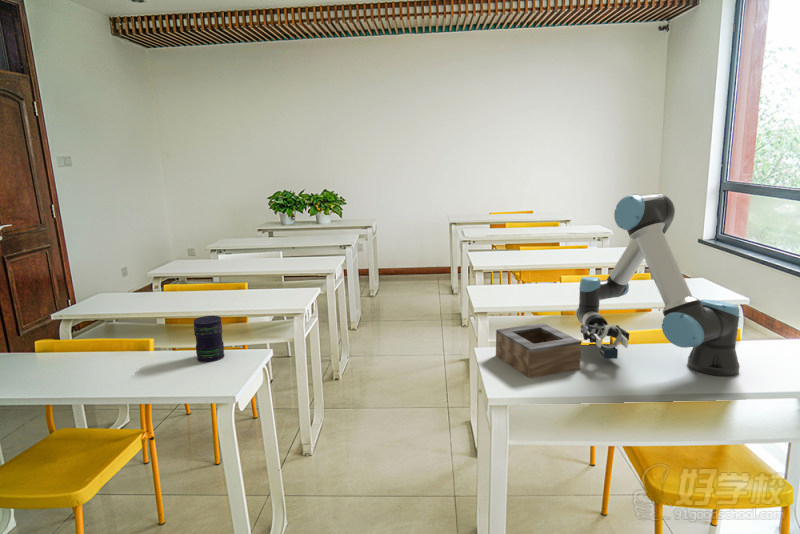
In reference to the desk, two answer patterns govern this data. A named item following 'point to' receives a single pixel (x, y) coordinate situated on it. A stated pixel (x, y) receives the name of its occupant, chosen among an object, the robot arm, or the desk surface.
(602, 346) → the watch
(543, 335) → the box
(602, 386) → the desk surface
